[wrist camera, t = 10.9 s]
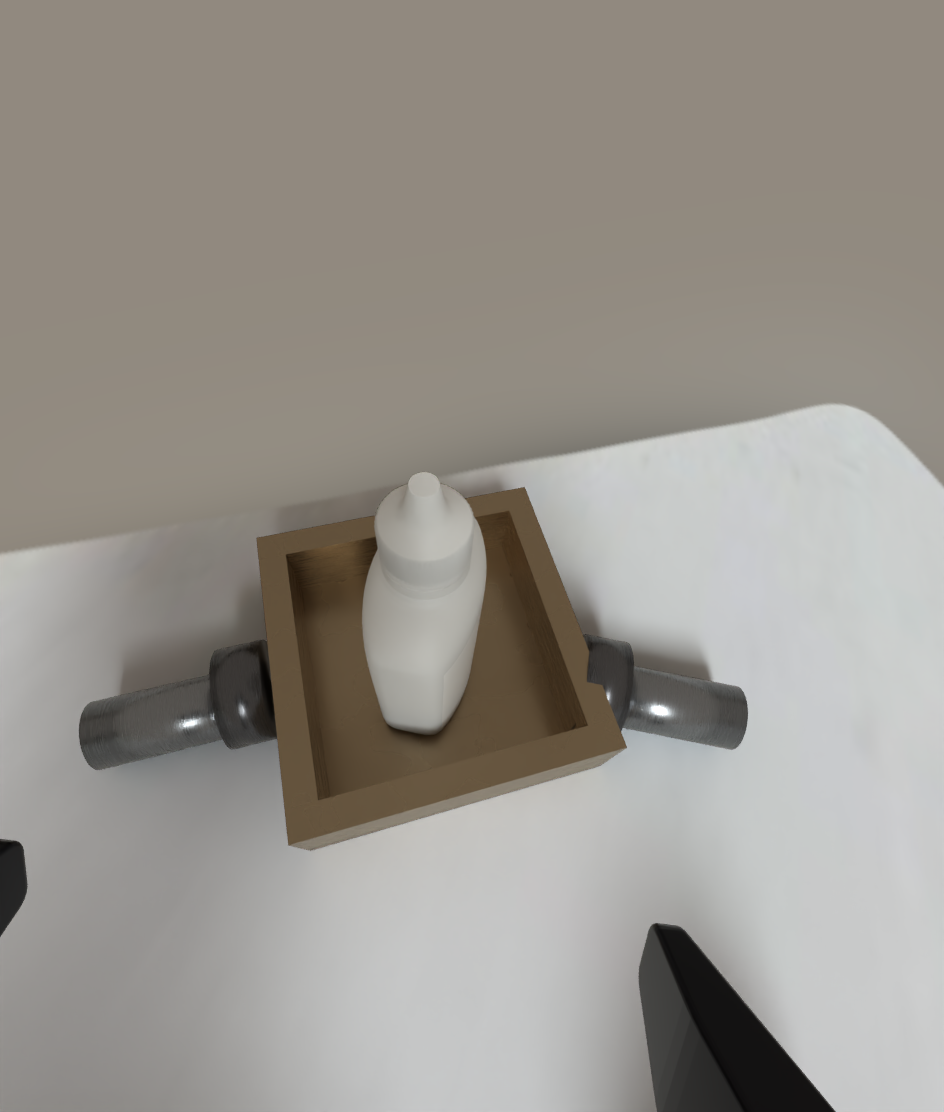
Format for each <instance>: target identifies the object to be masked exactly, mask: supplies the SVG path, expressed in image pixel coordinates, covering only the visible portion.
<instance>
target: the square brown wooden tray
mask: <svg viewBox="0 0 944 1112" xmlns="http://www.w3.org/2000/svg"><path fill="white" fill-rule="evenodd" d="M465 500H467V503H469V504H470V507H471V508H472V512H473V516H474V517H475V519H476V520H477V522H478V524H479V527H480V529H481V533H482V536H483V540H484V545H485V552H486V566H487V567H486V584H485V592H484V598H483V604H482V609H481V615H480V621H479V626H478V632H477V638H476V643H475V649H474V654H473V660H472V665H471V671H470V675H469V679H468V682H467V686H466V688H465V691H464V694H463V696H462V698H461V701H460V703H459V705H458V707H457V709H456V710H455V712H454V714H453V715H452V717H451V718H450V720H449V721H448V723H447V724H446V726H445V727H444V728H443V729H442V730H441V731H440V732H438V733H437V734H435V735H423V734H418V733H413V732H408V731H404V730H400V729H396V728H393V727H391V726H390V725H388V724H387V723H386V721H385V719H384V718H383V715H382V712H381V708H380V705H379V702H378V698H377V695H376V692H375V688H374V685H373V682H372V678H371V675H370V671H369V667H368V662H367V658H366V653H365V649H364V640H363V629H362V608H363V596H364V589H365V584H366V580H367V576H368V572H369V569H370V566H371V563H372V560H373V558H374V556H375V554H376V551H377V549H378V547H377V541H376V535H375V528H374V525H375V524H374V521H375V516H376V515H375V516H370V517H365V518H359V519H354V520H349V521H343V522H338V523H333V524H328V525H322V526H317V527H312V528H306V529H301V530H296V531H291V532H285V533H280V534H275V535H270V536H264V537H259V538H257V548H258V557H259V567H260V576H261V586H262V596H263V605H264V615H265V625H266V634H267V644H268V653H269V663H270V673H271V682H272V692H273V702H274V711H275V721H276V730H277V740H278V750H279V759H280V769H281V779H282V788H283V798H284V807H285V817H286V827H287V836H288V845H289V846H293V847H297V848H302V849H306V850H310V851H311V850H315V849H318V848H322V847H325V846H328V845H332V844H335V843H339V842H342V841H345V840H349V839H352V838H356V837H359V836H362V835H366V834H369V833H373V832H376V831H380V830H383V829H386V828H390V827H393V826H397V825H400V824H403V823H407V822H410V821H414V820H417V819H421V818H424V817H427V816H431V815H434V814H438V813H441V812H444V811H448V810H451V809H455V808H458V807H462V806H465V805H468V804H472V803H475V802H479V801H482V800H485V799H489V798H492V797H496V796H499V795H502V794H506V793H509V792H513V791H516V790H520V789H523V788H526V787H530V786H533V785H537V784H540V783H543V782H547V781H550V780H554V779H557V778H561V777H564V776H567V775H571V774H574V773H578V772H581V771H584V770H588V769H591V768H595V767H598V766H601V765H602V764H604V763H605V762H606V761H608V760H609V759H611V758H612V757H614V756H615V755H617V754H618V753H620V752H621V751H623V750H624V749H625V748H627V746H626V744H625V741H624V739H623V736H622V734H621V731H620V729H619V726H618V724H617V721H616V718H615V716H614V713H613V711H612V708H611V706H610V703H609V701H608V698H607V696H606V693H605V690H604V688H603V685H599V684H594V683H589V682H587V674H588V662H589V650H588V647H587V645H586V642H585V640H584V637H583V635H582V632H581V629H580V627H579V624H578V622H577V619H576V617H575V614H574V612H573V609H572V607H571V604H570V601H569V599H568V596H567V594H566V591H565V589H564V586H563V584H562V581H561V579H560V576H559V573H558V571H557V568H556V566H555V563H554V561H553V558H552V556H551V553H550V551H549V548H548V545H547V543H546V540H545V538H544V535H543V533H542V530H541V528H540V525H539V523H538V520H537V517H536V515H535V512H534V510H533V507H532V505H531V502H530V500H529V497H528V495H527V492H526V489H525V487H523V488H518V489H512V490H507V491H502V492H496V493H491V494H486V495H481V496H475V497H470V498H465ZM575 724H576V726H575V728H574V729H571V728H572V727H573V726H574V725H575Z"/></svg>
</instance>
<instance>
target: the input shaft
mask: <svg viewBox="0 0 944 1112" xmlns="http://www.w3.org/2000/svg"><path fill="white" fill-rule="evenodd" d="M79 739H80V745H81V749H82V752H83V755H84V757H85V759H86V761H87V763H88V764H89V765H90V766H91V767H92V768H93V769H95V770H103V769H107V768H111V767H115V766H119V765H123V764H127V763H131V762H135V761H139V760H143V759H147V758H151V757H155V756H159V755H163V754H167V753H171V752H175V751H179V750H183V749H187V748H191V747H195V746H199V745H203V744H207V743H211V742H215V741H219V740H223V741H224V742H225V744H226V745H227V747H229V748H230V749H238V748H242V747H245V746H249V745H253V744H257V743H261V742H265V741H269V740H273V739H277V730H276V721H275V711H274V702H273V692H272V682H271V673H270V663H269V653H268V644H267V642H266V641H265V640H259V641H254V642H250V643H245V644H241V645H236V646H232V647H227V648H223V649H218V650H216V651H215V652H214V653H213V655H212V658H211V662H210V672H209V675H207V676H203V677H198V678H194V679H190V680H185V681H181V682H177V683H172V684H168V685H163V686H159V687H155V688H150V689H146V690H142V691H137V692H133V693H129V694H124V695H120V696H115V697H111V698H107V699H102V700H98V701H94V702H90V703H89V704H88V705H87V706H86V707H85V708H84V710H83V712H82V715H81V718H80V724H79Z"/></svg>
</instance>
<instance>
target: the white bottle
mask: <svg viewBox="0 0 944 1112" xmlns="http://www.w3.org/2000/svg"><path fill="white" fill-rule="evenodd" d="M379 505H380V506H379V507H378V508H377V510H378V511H377V512H376V516H375V521H374V524H375V525H374V528H375V535H376V541H377V547H378V549H377V551H376V554H375V556H374V558H373V560H372V563H371V566H370V569H369V572H368V576H367V580H366V584H365V589H364V596H363V608H362V629H363V640H364V649H365V653H366V658H367V662H368V667H369V671H370V675H371V678H372V682H373V685H374V688H375V692H376V695H377V698H378V702H379V705H380V708H381V712H382V715H383V718H384V719H385V721H386V723H387V724H388V725H390V726H391V727H393V728H396V729H400V730H404V731H408V732H413V733H418V734H423V735H435V734H437V733H438V732H440V731H441V730H442V729H443V728H444V727H445V726H446V724H447V723H448V721H449V720H450V718H451V717H452V715H453V714H454V712H455V710H456V709H457V707H458V705H459V703H460V701H461V698H462V696H463V694H464V691H465V688H466V686H467V682H468V679H469V675H470V671H471V665H472V660H473V654H474V649H475V643H476V638H477V632H478V626H479V621H480V615H481V609H482V604H483V598H484V592H485V584H486V567H487V566H486V552H485V545H484V540H483V536H482V533H481V529H480V527H479V524H478V522H477V520H476V519H475V517H474V516H473V512H472V508H471V507H470V504H469V503H467V500H465V499H464V497H463V496H461V494H460V493H458V492H457V491H456V490H454V489H453V488H450V487H449V486H446V485H445V484H441V483H440V482H439V480H438V478H437V477H436V476H435V475H433V474H431V473H429V472H419V473H416V474H414V475H413V476H412V477H411V478H410V479H409V481H408V484H405V485H403V486H400V487H398V488H396V489H395V490H393V491H392V492H391V493H389V494H388V495H387V496H386V497H385V499H383V500H382V503H380V504H379Z"/></svg>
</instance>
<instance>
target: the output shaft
mask: <svg viewBox="0 0 944 1112" xmlns="http://www.w3.org/2000/svg"><path fill="white" fill-rule="evenodd" d="M583 637H584V640H585V642H586V645H587V647H588V650H589V662H588V674H587V682H589V683H594V684H599V685H603V688H604V690H605V693H606V696H607V698H608V701H609V703H610V706H611V708H612V711H613V713H614V716H615V718H616V721H617V724H618V726H619V729H620V731H621V730H622V728H626V729H631V730H636V731H641V732H646V733H651V734H656V735H661V736H666V737H671V738H676V739H681V740H685V741H690V742H695V743H700V744H705V745H710V746H715V747H720V748H725V749H730V750H733V749H735V748H737V747H738V746H739V744H740V743H741V741H742V739H743V737H744V734H745V731H746V727H747V719H748V708H747V701H746V697H745V695H744V692H743V691H742V690H741V688H739V687H737V686H732V685H727V684H722V683H717V682H712V681H707V680H702V679H697V678H692V677H687V676H682V675H677V674H672V673H667V672H662V671H657V670H652V669H647V668H642V667H636V666H634V661H633V653H632V649H631V646H630V644H629V643H627V642H622V641H617V640H612V639H607V638H602V637H596V636H591V635H586V634H585V635H583ZM575 726H576V724H575V725H574V726H573V727H572V728H571V729H574V728H575Z"/></svg>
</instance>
